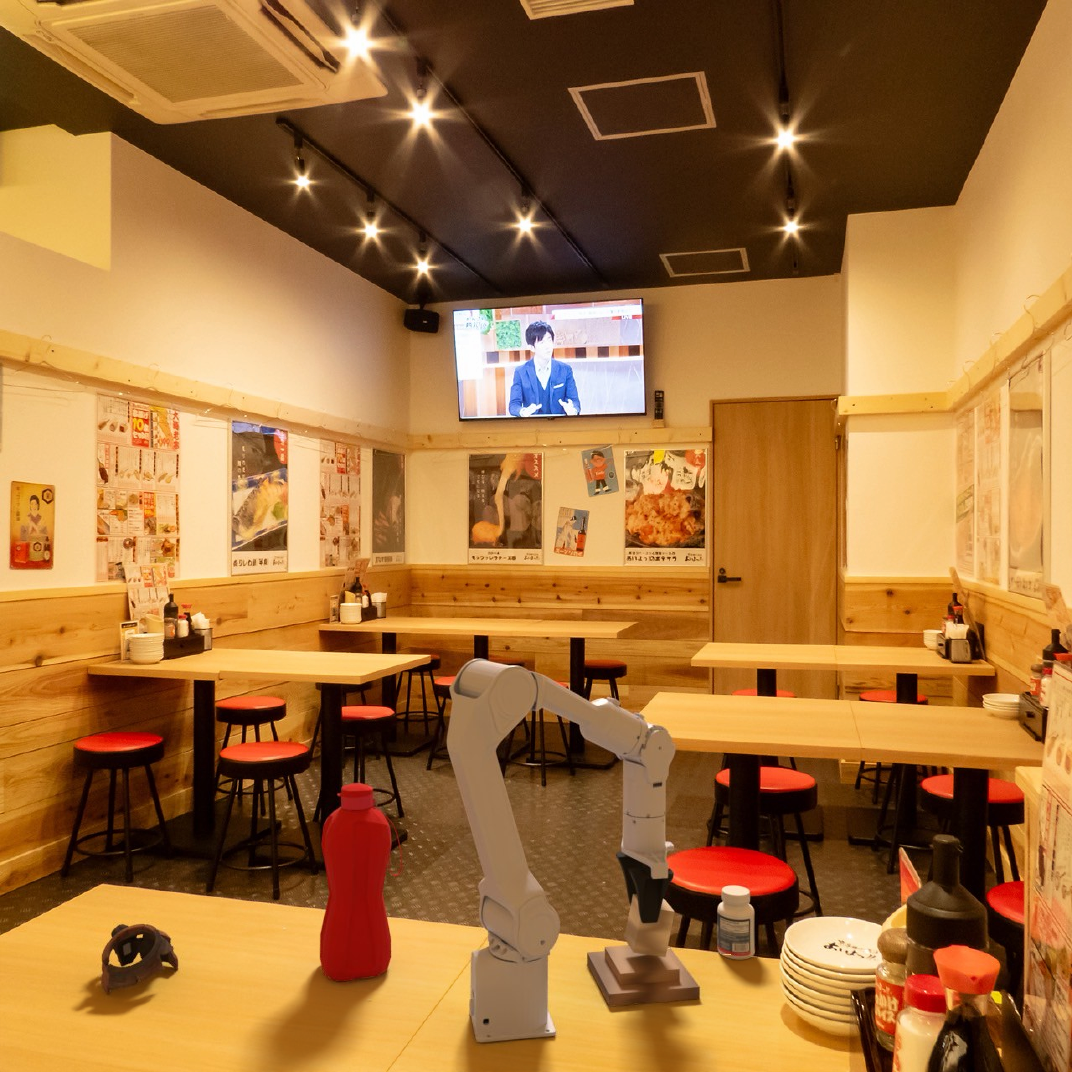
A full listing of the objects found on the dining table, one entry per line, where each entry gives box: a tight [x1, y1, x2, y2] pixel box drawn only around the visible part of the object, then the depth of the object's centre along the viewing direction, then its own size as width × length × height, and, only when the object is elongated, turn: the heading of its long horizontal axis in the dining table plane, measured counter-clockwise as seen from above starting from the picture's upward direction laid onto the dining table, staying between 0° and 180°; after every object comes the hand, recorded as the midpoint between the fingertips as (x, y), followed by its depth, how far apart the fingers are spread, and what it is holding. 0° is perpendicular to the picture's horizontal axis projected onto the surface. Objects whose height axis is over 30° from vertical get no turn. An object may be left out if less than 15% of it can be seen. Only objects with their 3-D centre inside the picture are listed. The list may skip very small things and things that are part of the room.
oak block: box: [623, 894, 675, 957], centre depth 118 cm, size 4×4×6 cm
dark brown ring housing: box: [100, 923, 179, 995], centre depth 118 cm, size 12×10×8 cm
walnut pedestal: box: [586, 944, 701, 1007], centre depth 118 cm, size 12×12×3 cm
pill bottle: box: [716, 885, 756, 961], centre depth 127 cm, size 5×5×9 cm
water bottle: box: [319, 782, 403, 983], centre depth 122 cm, size 9×11×25 cm
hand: (643, 914), depth 118 cm, fingers closed on oak block, 4 cm apart
